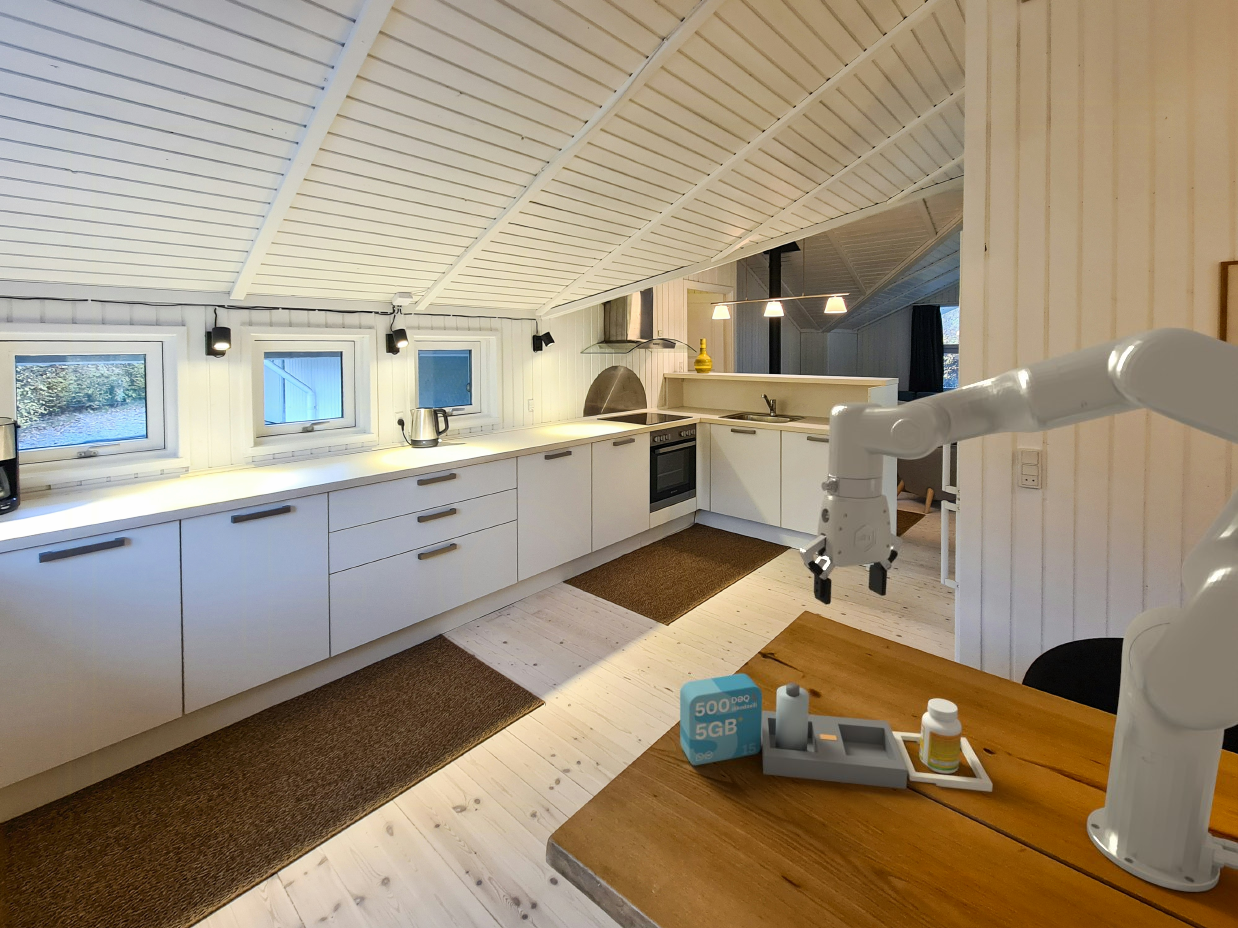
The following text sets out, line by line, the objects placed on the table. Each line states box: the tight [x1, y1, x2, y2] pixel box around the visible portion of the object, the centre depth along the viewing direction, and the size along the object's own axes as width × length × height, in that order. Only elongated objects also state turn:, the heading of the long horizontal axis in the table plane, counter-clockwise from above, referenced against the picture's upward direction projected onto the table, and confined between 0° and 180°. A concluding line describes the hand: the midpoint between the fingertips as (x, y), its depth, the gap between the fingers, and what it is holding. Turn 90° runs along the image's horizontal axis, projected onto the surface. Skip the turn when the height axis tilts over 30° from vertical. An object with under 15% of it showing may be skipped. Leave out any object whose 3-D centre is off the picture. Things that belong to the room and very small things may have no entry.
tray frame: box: [892, 730, 993, 793], centre depth 95 cm, size 11×11×1 cm
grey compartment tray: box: [761, 710, 908, 790], centre depth 96 cm, size 20×12×4 cm, turn 79°
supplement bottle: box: [919, 697, 963, 775], centre depth 94 cm, size 5×5×10 cm
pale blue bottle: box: [775, 682, 810, 751], centre depth 97 cm, size 5×5×11 cm
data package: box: [679, 673, 763, 766], centre depth 97 cm, size 12×4×12 cm, turn 104°
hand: (850, 596), depth 94 cm, fingers open, 9 cm apart
